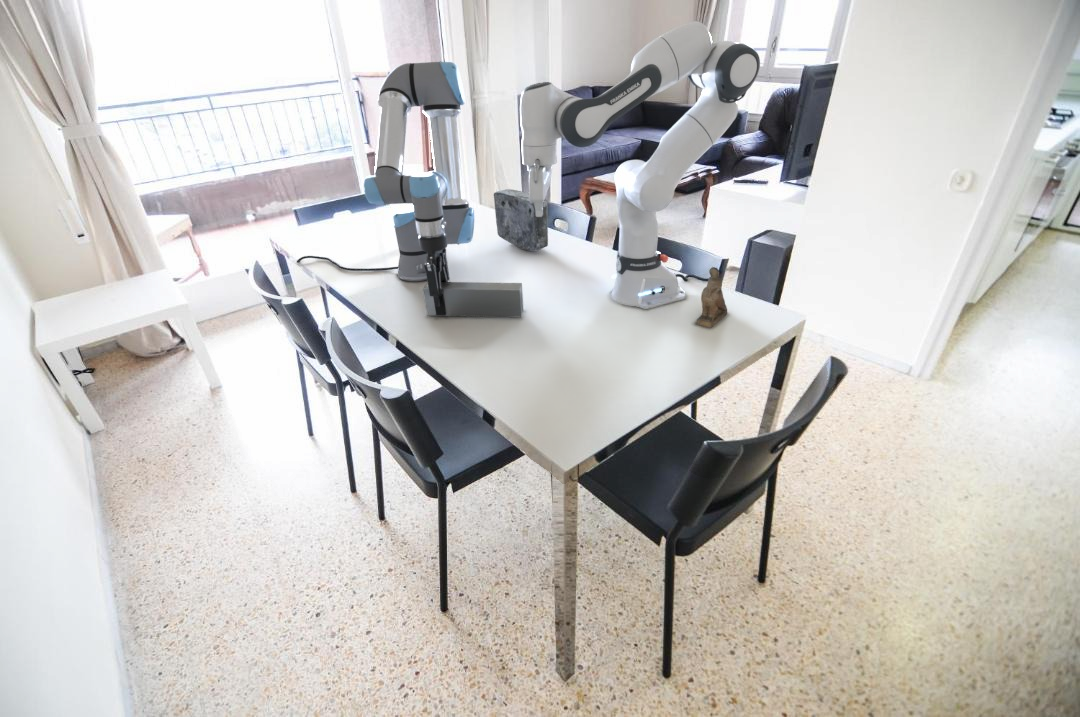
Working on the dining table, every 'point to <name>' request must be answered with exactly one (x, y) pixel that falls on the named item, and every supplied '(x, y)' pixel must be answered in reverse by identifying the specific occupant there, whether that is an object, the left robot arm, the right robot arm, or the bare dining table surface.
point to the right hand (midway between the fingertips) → (541, 211)
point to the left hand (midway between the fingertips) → (443, 310)
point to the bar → (478, 299)
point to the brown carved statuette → (712, 301)
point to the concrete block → (520, 220)
